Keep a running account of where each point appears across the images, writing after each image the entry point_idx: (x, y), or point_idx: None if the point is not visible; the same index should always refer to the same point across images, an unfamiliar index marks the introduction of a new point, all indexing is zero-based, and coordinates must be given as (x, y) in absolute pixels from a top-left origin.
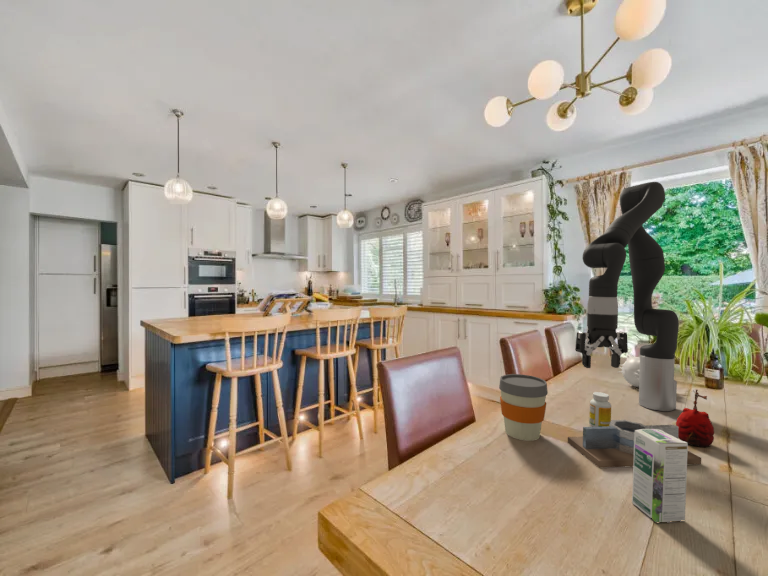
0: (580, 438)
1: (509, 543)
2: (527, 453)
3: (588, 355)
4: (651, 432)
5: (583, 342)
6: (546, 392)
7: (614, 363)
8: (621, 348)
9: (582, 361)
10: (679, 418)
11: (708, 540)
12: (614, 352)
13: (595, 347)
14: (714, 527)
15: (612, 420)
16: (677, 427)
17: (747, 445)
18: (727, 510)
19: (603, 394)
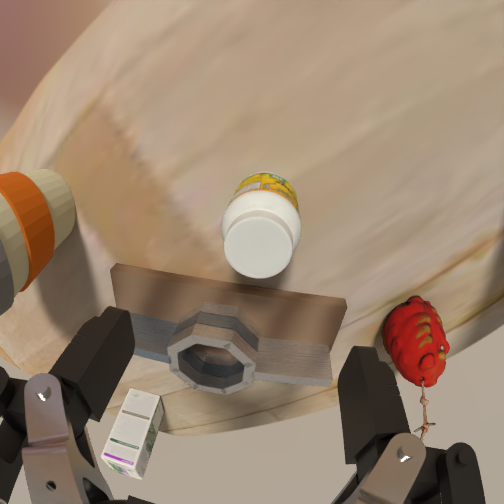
0: (133, 283)
1: (32, 367)
2: (45, 277)
3: (84, 411)
4: (115, 466)
5: (2, 478)
6: (8, 307)
7: (347, 390)
8: (429, 493)
9: (77, 337)
10: (408, 343)
11: (166, 422)
12: (369, 467)
13: (104, 499)
14: (186, 420)
15: (191, 337)
16: (327, 385)
17: (470, 335)
18: (226, 418)
19: (268, 254)
